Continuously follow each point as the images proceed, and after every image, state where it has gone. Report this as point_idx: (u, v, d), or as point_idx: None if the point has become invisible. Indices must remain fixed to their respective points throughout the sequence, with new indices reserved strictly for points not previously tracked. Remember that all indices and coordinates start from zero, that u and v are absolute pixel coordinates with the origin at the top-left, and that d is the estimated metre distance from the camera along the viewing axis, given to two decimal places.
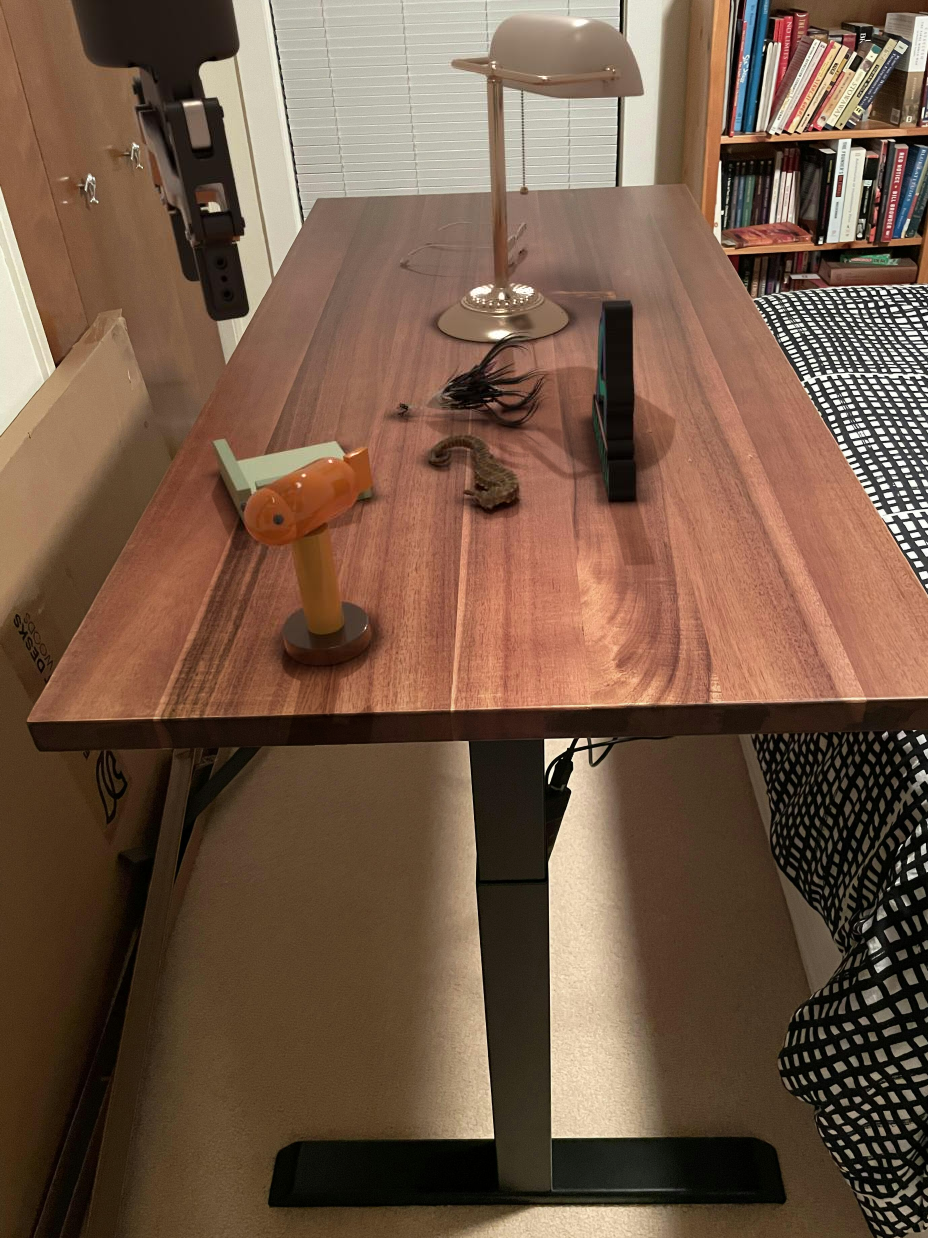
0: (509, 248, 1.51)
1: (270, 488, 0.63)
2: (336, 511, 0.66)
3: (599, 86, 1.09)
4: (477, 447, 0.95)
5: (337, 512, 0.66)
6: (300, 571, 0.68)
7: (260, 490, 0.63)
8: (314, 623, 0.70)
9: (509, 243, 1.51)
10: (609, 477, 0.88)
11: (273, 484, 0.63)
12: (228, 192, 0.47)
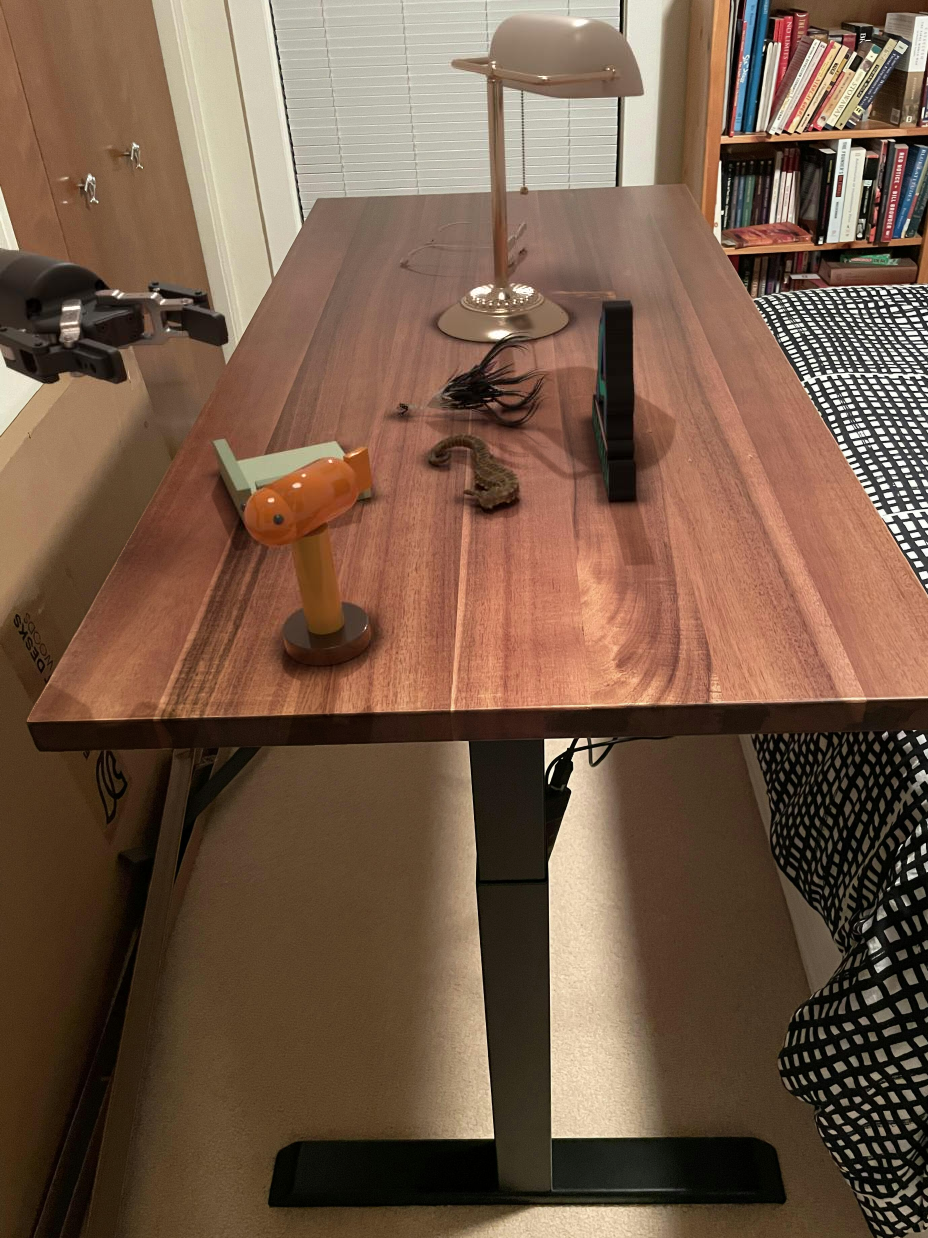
0: (509, 248, 1.51)
1: (270, 488, 0.63)
2: (336, 511, 0.66)
3: (599, 86, 1.09)
4: (477, 447, 0.95)
5: (337, 512, 0.66)
6: (300, 571, 0.68)
7: (260, 490, 0.63)
8: (314, 623, 0.70)
9: (509, 243, 1.51)
10: (609, 477, 0.88)
11: (273, 484, 0.63)
12: (21, 348, 0.64)
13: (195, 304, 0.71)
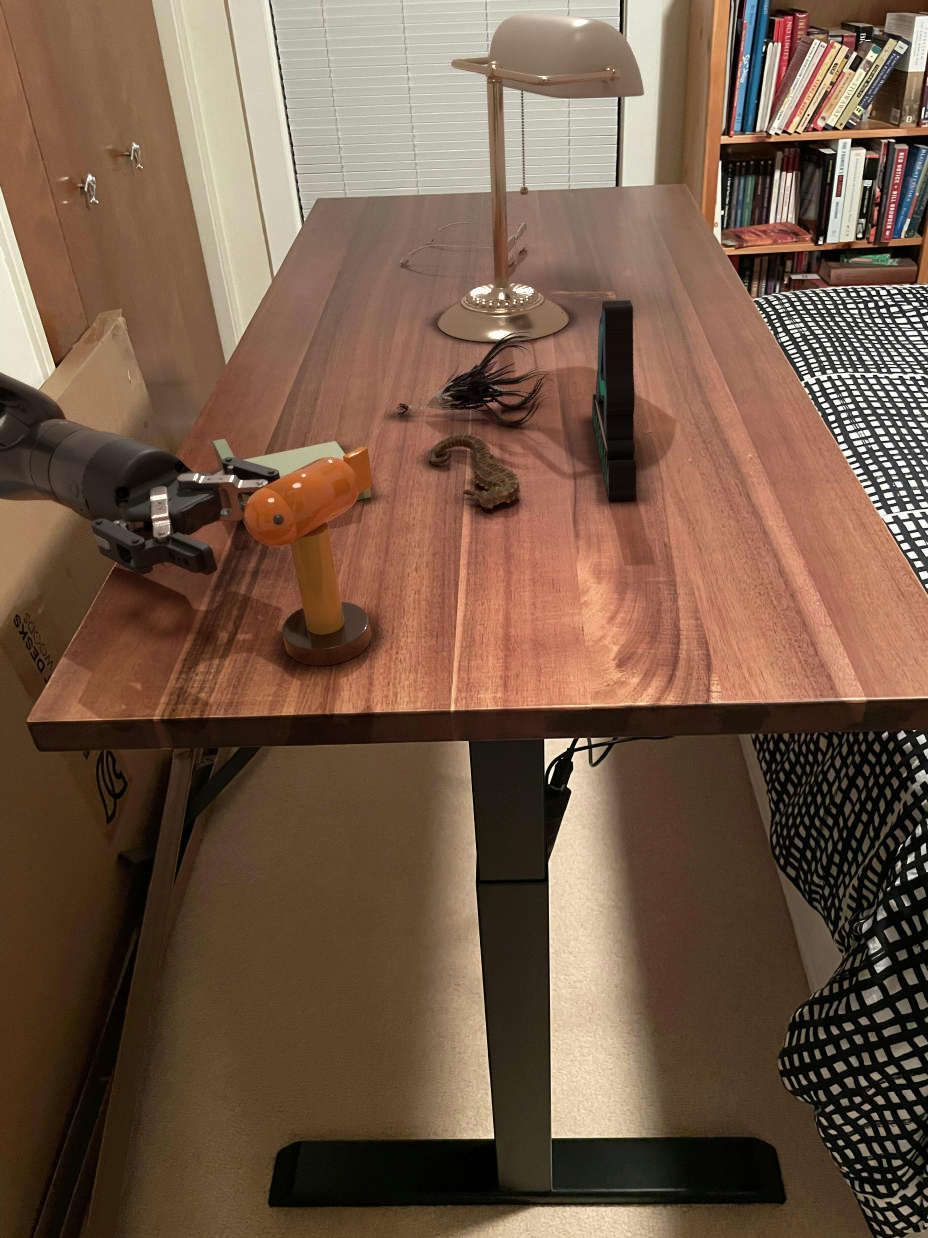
0: (509, 248, 1.51)
1: (270, 488, 0.63)
2: (336, 511, 0.66)
3: (599, 86, 1.09)
4: (477, 447, 0.95)
5: (337, 512, 0.66)
6: (300, 571, 0.68)
7: (260, 490, 0.63)
8: (314, 623, 0.70)
9: (509, 243, 1.51)
10: (609, 477, 0.88)
11: (273, 484, 0.63)
12: (118, 543, 0.70)
13: (269, 483, 0.77)
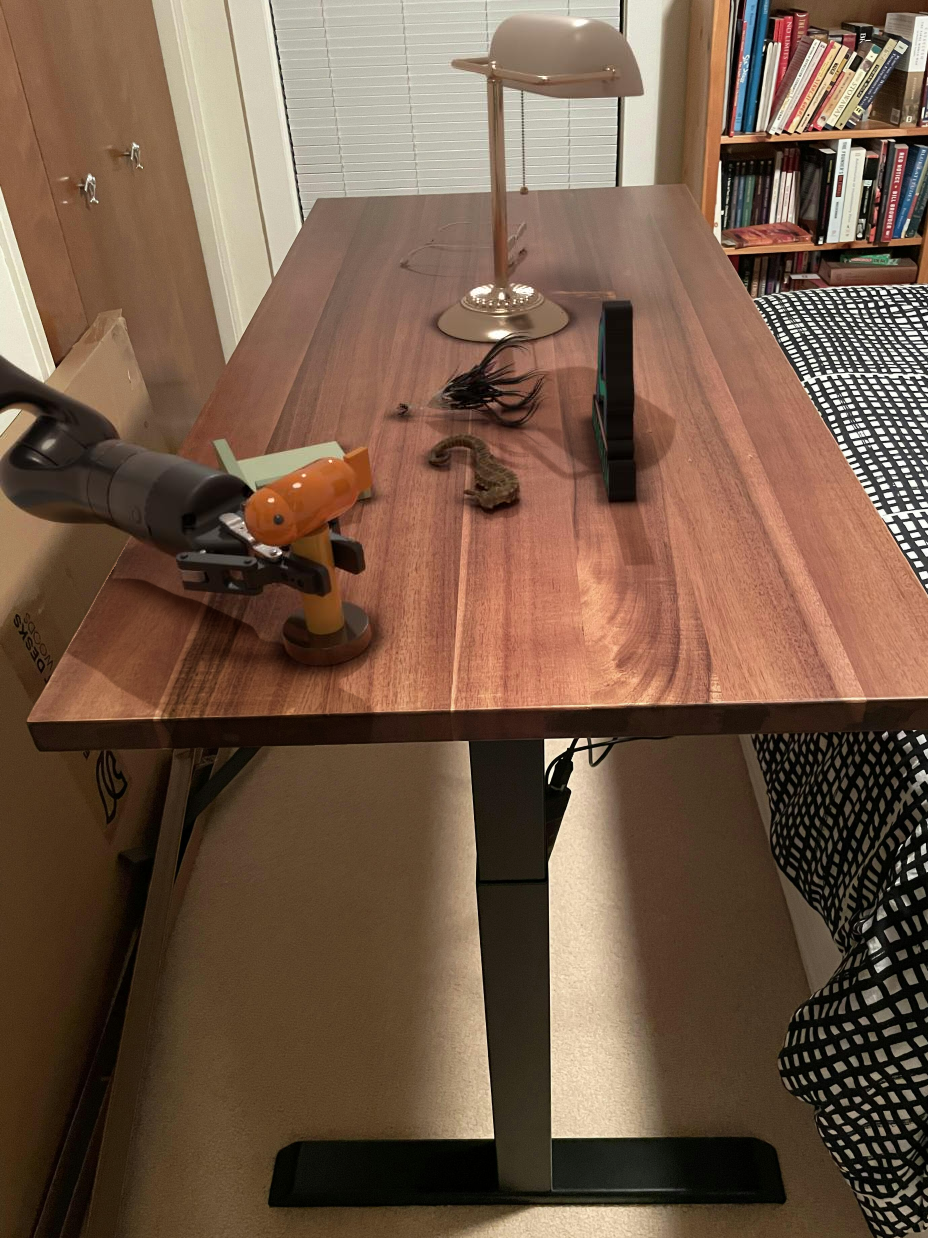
0: (509, 248, 1.51)
1: (270, 488, 0.63)
2: (336, 511, 0.66)
3: (599, 86, 1.09)
4: (477, 447, 0.95)
5: (337, 512, 0.66)
6: None
7: (260, 490, 0.63)
8: (314, 623, 0.70)
9: (509, 243, 1.51)
10: (609, 477, 0.88)
11: (273, 484, 0.63)
12: (226, 569, 0.66)
13: None
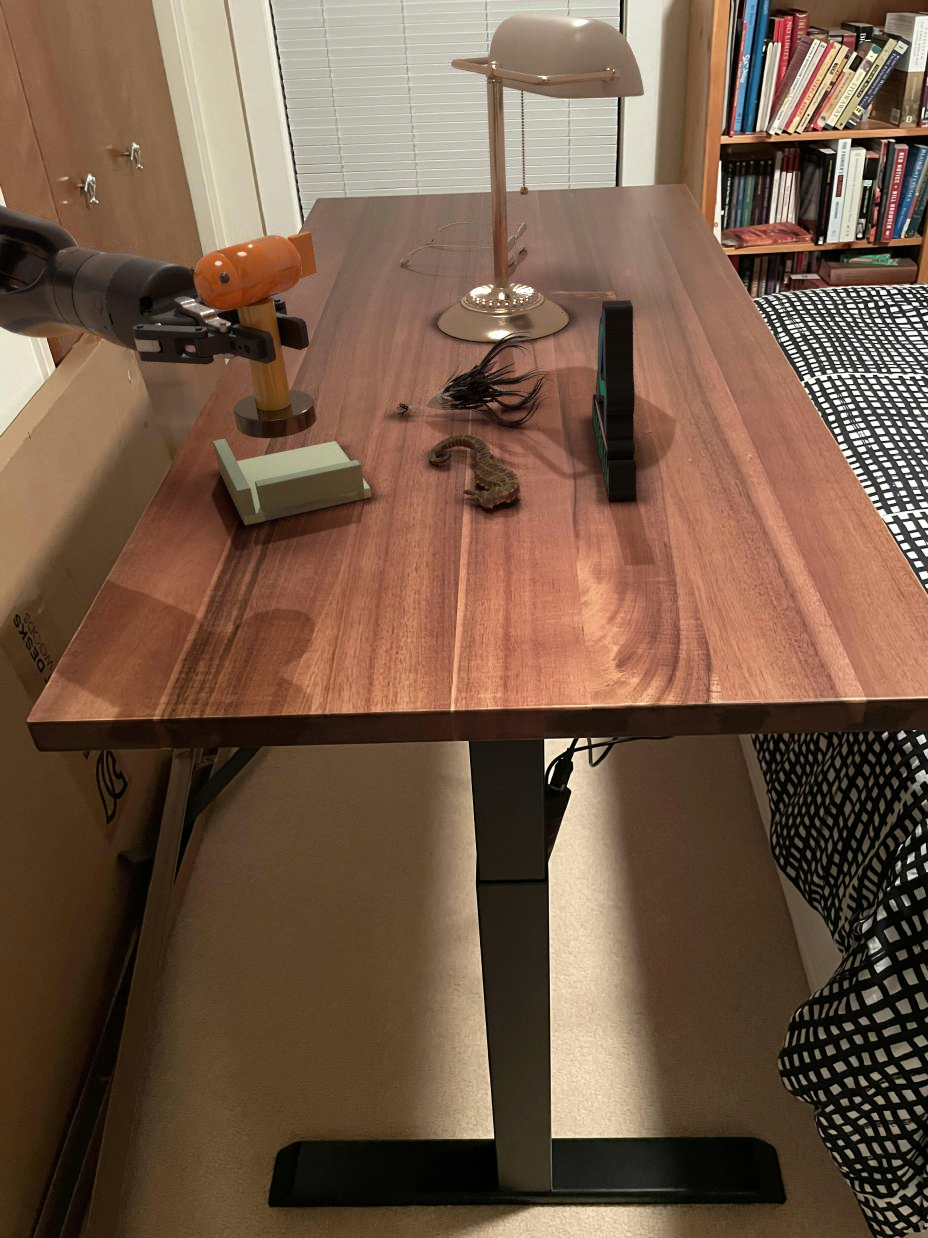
0: (509, 248, 1.51)
1: (217, 251, 0.69)
2: (280, 283, 0.72)
3: (599, 86, 1.09)
4: (477, 447, 0.95)
5: (281, 284, 0.72)
6: None
7: (208, 253, 0.69)
8: (262, 399, 0.76)
9: (509, 243, 1.51)
10: (609, 477, 0.88)
11: (220, 249, 0.69)
12: (178, 336, 0.72)
13: None
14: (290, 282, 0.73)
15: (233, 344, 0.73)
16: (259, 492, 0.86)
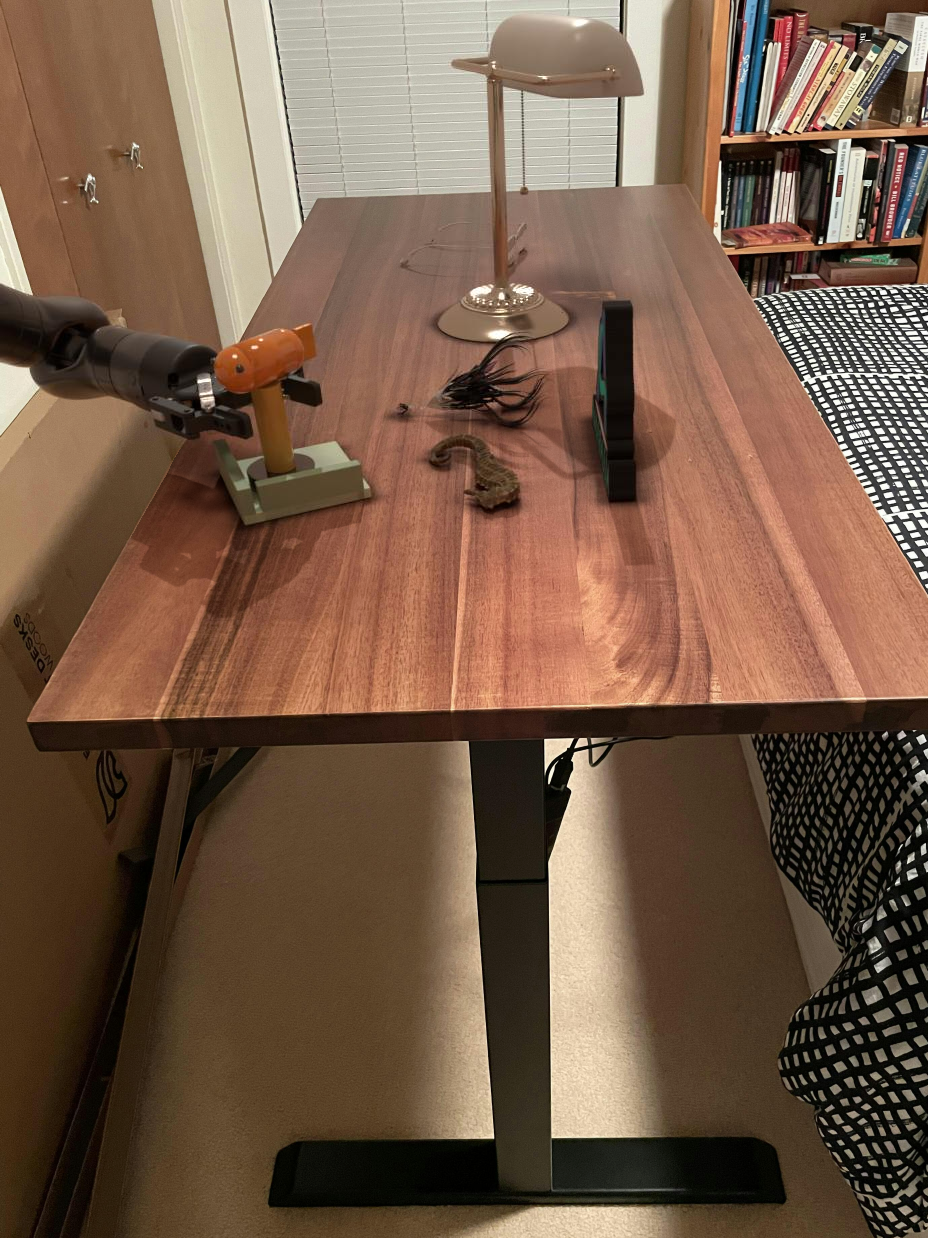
0: (509, 248, 1.51)
1: (234, 346, 0.82)
2: (286, 369, 0.85)
3: (599, 86, 1.09)
4: (478, 447, 0.95)
5: (287, 370, 0.86)
6: (259, 418, 0.87)
7: (226, 348, 0.82)
8: (271, 463, 0.90)
9: (509, 243, 1.51)
10: (609, 477, 0.88)
11: (236, 344, 0.83)
12: (172, 413, 0.85)
13: (294, 374, 0.92)
14: (294, 367, 0.86)
15: (217, 423, 0.85)
16: (259, 492, 0.86)
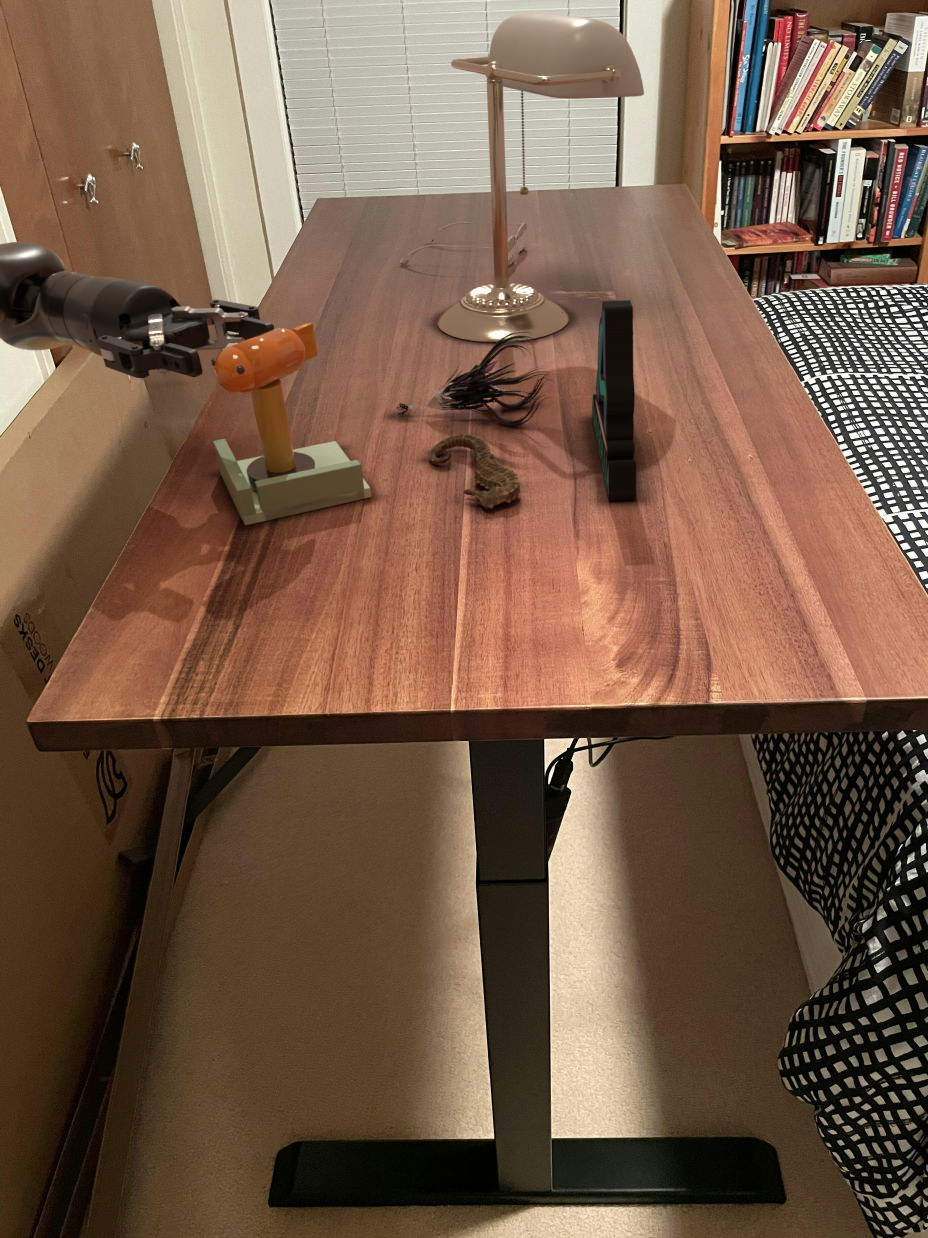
0: (509, 248, 1.51)
1: (234, 346, 0.82)
2: (286, 369, 0.85)
3: (599, 86, 1.09)
4: (478, 447, 0.95)
5: (287, 370, 0.85)
6: (259, 418, 0.87)
7: (226, 348, 0.82)
8: (271, 463, 0.90)
9: (509, 243, 1.51)
10: (609, 477, 0.88)
11: (237, 344, 0.83)
12: (120, 351, 0.83)
13: (249, 316, 0.90)
14: (295, 367, 0.86)
15: (165, 360, 0.83)
16: (259, 492, 0.86)
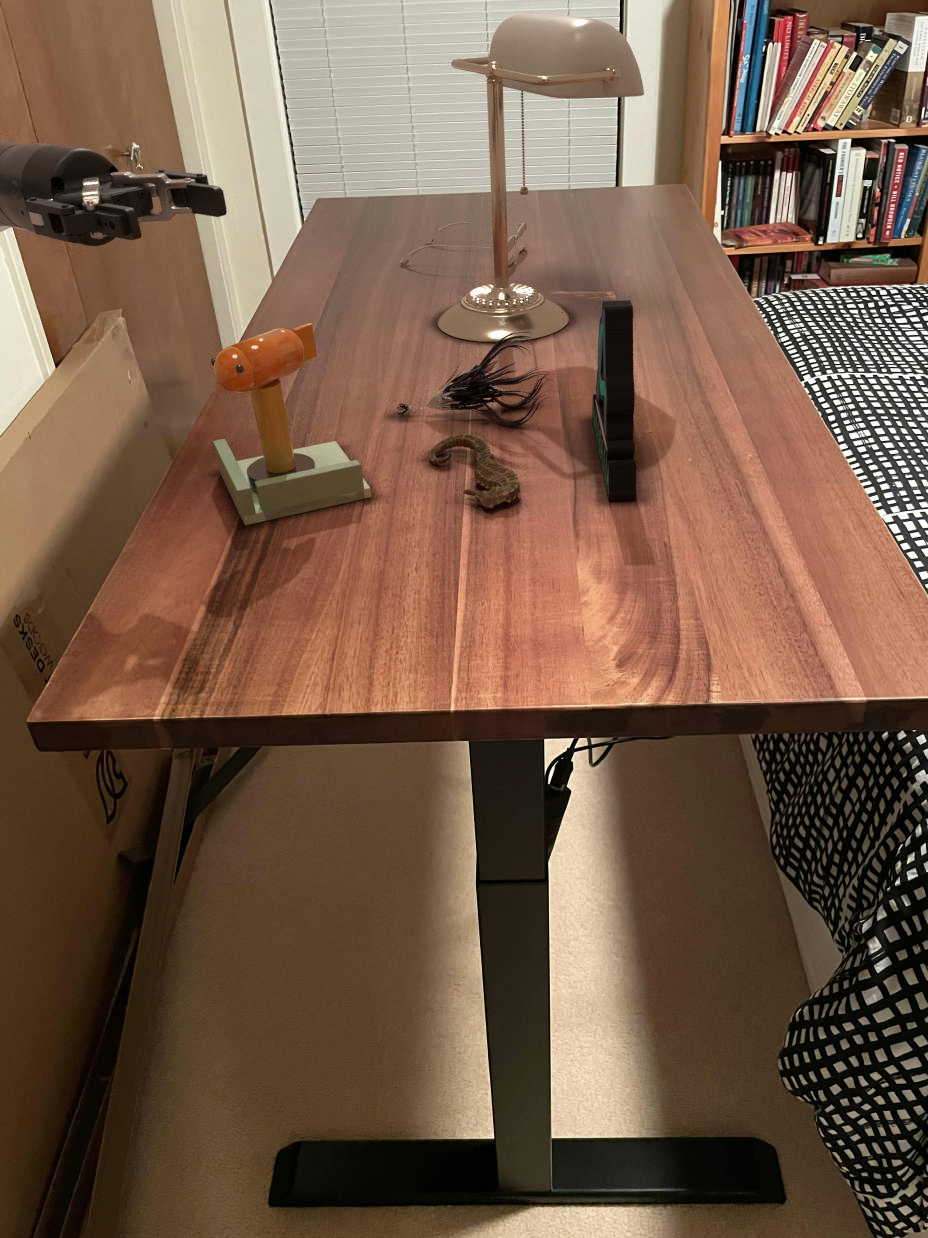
0: (509, 248, 1.51)
1: (234, 346, 0.82)
2: (286, 369, 0.85)
3: (599, 86, 1.09)
4: (478, 447, 0.95)
5: (287, 370, 0.86)
6: (259, 418, 0.87)
7: (226, 347, 0.82)
8: (271, 463, 0.90)
9: (509, 243, 1.51)
10: (609, 477, 0.88)
11: (236, 344, 0.83)
12: (50, 211, 0.75)
13: None
14: (294, 367, 0.86)
15: (100, 222, 0.75)
16: (259, 492, 0.86)
